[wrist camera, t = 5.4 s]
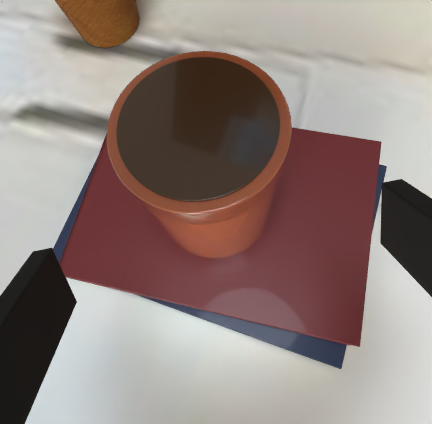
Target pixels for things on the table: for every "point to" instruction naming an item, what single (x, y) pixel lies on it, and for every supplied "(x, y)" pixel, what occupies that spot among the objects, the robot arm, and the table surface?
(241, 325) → the navy book
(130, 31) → the disposable coffee cup
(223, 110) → the terracotta pot
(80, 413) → the table surface
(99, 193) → the burgundy book
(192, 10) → the table surface
